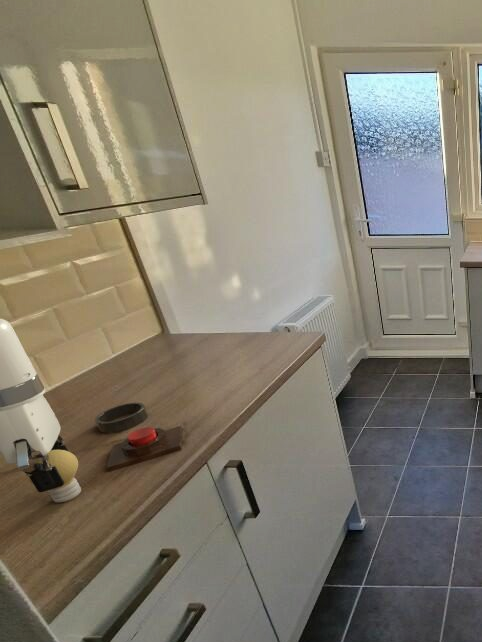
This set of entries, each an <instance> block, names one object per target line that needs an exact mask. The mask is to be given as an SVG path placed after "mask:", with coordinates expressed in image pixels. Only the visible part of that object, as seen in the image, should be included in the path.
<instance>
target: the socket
mask: <svg viewBox="0 0 482 642" xmlns="http://www.w3.org/2000/svg"><path fill="white" fill-rule="evenodd" d="M128 415H129V416H128ZM124 416H126V417H124ZM121 417H123V418H121ZM119 418H121V419H119ZM148 418H149V413H148V410H147V408H146V405H145V404H144V403H142V402H138V401H137V402H127V403H122V404H119V405H116V406H113V407H111V408H108V409H106V410H104V411H102V412H101V413H99V414H98V415H97V416H96V418H95V420H94V422H95V423H96V425H97V428H98V430H99V432H101V433H102V434H114V433H115V434H116V433H121V432H124V431H127V430H130V429H133V428H135V427H137V426H139V425H141V424H142V423H144V422H145V421H146V420H147V419H148Z"/></svg>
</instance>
